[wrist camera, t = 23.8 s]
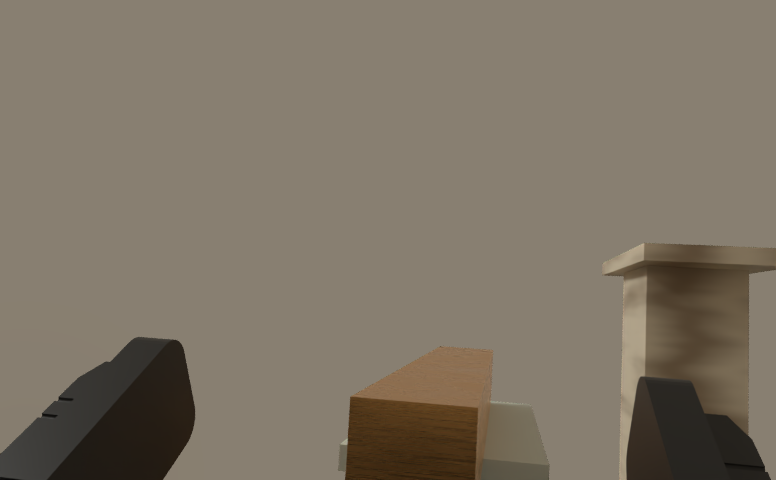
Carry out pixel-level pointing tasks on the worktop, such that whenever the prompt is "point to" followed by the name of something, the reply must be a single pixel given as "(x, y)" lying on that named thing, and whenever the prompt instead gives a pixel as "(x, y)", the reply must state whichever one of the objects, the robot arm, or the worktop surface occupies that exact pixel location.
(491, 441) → the white i-beam column
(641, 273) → the tall pedestal
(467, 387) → the wooden block
